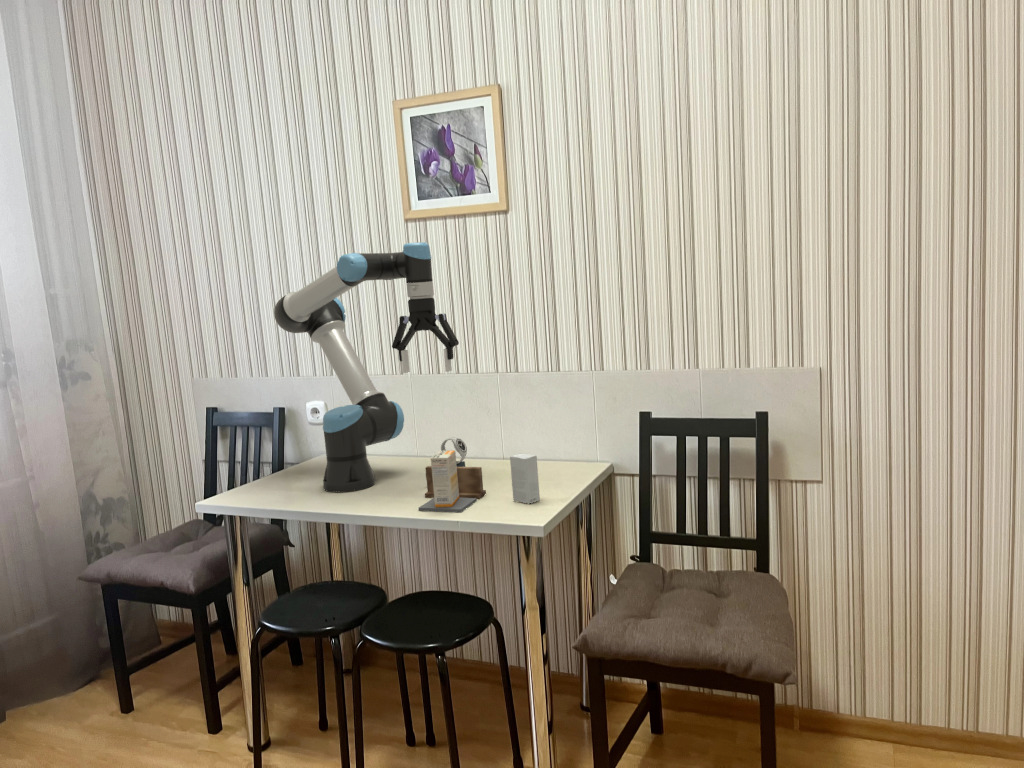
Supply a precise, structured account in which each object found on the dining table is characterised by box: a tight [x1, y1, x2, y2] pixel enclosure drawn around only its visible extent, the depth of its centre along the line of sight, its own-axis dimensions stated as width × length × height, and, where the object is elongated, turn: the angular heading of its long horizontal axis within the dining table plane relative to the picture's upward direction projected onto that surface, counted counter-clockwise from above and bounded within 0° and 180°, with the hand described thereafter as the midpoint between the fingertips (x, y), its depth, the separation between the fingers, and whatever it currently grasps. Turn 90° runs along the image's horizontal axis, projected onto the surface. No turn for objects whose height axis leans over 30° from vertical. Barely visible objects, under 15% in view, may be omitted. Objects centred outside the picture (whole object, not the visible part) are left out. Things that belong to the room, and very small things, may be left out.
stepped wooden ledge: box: [424, 465, 487, 500], centre depth 208 cm, size 16×5×8 cm, turn 70°
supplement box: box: [430, 449, 459, 507], centre depth 198 cm, size 8×5×13 cm, turn 170°
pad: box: [418, 498, 478, 513], centre depth 199 cm, size 12×10×1 cm
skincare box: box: [509, 453, 541, 505], centre depth 198 cm, size 6×4×12 cm
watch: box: [440, 436, 468, 467], centre depth 234 cm, size 6×8×11 cm
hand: (427, 372), depth 220 cm, fingers open, 13 cm apart
